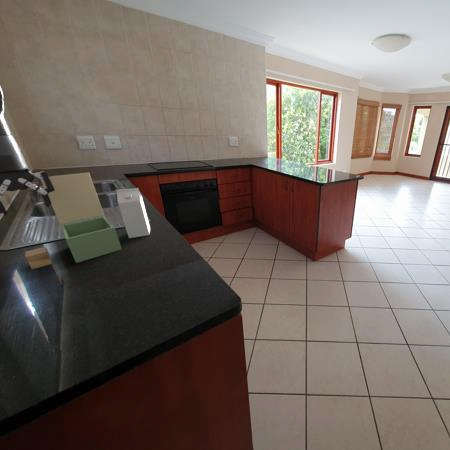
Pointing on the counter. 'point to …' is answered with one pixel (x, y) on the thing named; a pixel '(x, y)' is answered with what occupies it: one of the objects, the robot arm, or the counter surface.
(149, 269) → the counter surface
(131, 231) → the milk carton
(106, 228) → the bin
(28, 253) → the block
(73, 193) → the bin lid
